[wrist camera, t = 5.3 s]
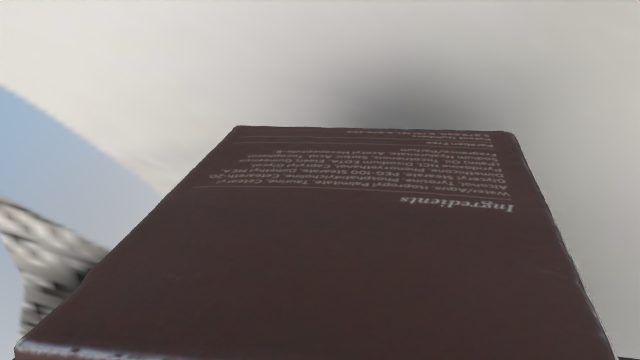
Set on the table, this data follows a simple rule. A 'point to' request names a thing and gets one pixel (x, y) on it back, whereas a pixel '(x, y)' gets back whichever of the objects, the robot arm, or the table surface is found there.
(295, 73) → the table surface
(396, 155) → the box
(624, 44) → the table surface
